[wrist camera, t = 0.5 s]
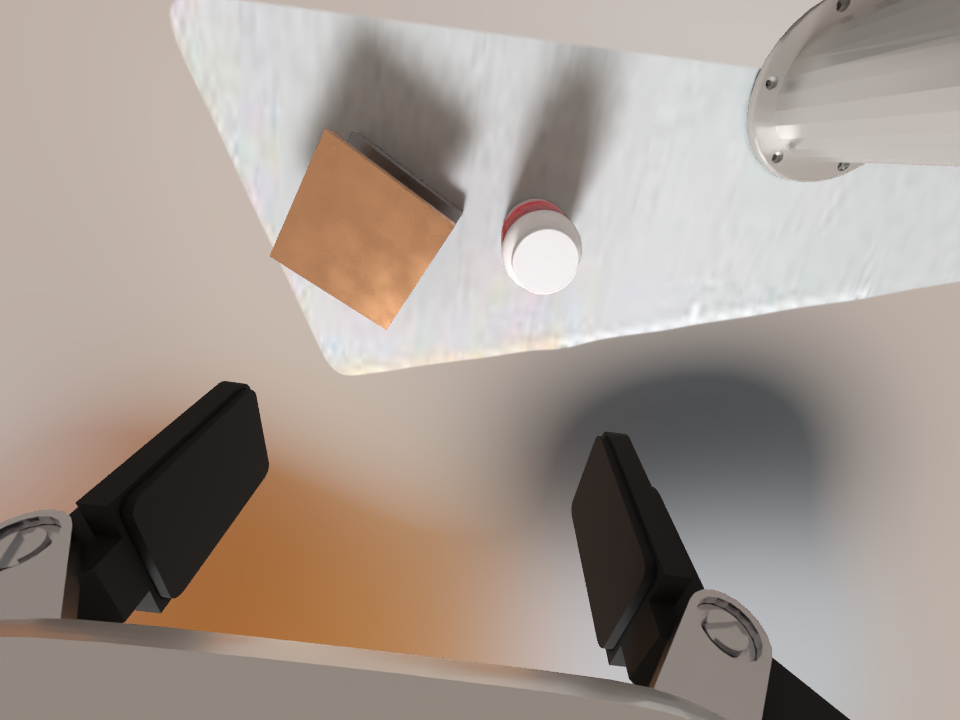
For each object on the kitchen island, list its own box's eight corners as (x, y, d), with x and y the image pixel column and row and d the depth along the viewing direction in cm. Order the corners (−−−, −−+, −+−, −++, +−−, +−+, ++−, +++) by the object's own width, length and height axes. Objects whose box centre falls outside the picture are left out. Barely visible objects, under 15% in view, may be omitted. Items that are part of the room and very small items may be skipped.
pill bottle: (488, 224, 36) (484, 251, 26) (545, 183, 34) (562, 196, 24) (523, 276, 38) (531, 319, 29) (578, 241, 36) (606, 274, 27)
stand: (358, 132, 33) (324, 128, 27) (463, 212, 36) (454, 226, 29) (308, 238, 37) (269, 256, 31) (404, 301, 40) (386, 329, 34)
